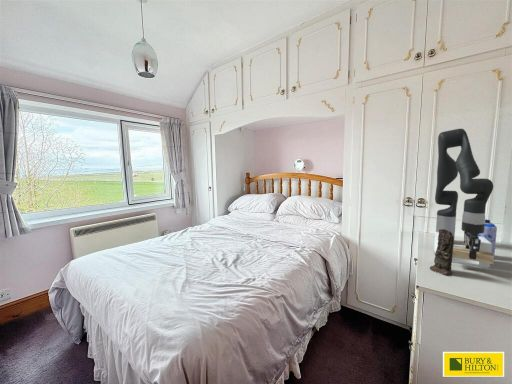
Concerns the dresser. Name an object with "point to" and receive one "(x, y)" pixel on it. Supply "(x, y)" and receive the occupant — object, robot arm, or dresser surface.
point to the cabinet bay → (484, 246)
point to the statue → (444, 253)
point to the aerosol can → (490, 234)
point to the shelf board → (480, 256)
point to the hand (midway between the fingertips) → (470, 256)
